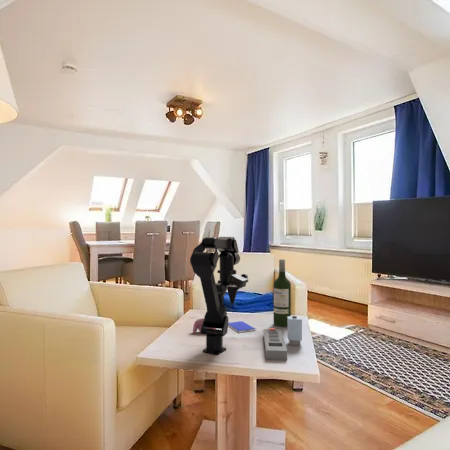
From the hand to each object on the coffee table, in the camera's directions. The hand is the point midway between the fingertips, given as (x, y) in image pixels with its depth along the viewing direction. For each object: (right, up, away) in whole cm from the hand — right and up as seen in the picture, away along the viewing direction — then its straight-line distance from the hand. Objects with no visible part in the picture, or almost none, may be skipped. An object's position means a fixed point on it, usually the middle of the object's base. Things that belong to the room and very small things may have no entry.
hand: (227, 306), depth 136 cm
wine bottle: (+26, -13, +20) cm, 35 cm away
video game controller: (-10, -13, +7) cm, 18 cm away
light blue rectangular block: (+26, -13, -7) cm, 30 cm away
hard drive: (+6, -14, +14) cm, 21 cm away
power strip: (+18, -13, -6) cm, 23 cm away
